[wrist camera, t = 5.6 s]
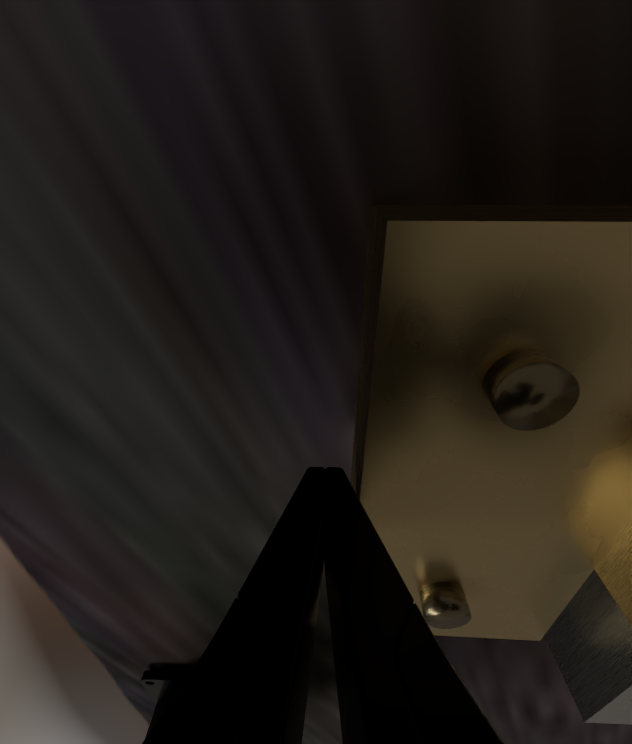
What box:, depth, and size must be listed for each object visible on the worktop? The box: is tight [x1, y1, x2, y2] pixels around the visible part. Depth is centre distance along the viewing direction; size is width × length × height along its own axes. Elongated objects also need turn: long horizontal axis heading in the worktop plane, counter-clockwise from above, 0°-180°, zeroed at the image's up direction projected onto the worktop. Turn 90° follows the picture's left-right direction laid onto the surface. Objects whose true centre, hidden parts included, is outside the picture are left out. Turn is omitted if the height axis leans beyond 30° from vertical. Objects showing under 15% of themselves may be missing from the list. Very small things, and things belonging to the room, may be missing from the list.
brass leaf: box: [350, 205, 632, 641], centre depth 8 cm, size 12×10×4 cm
